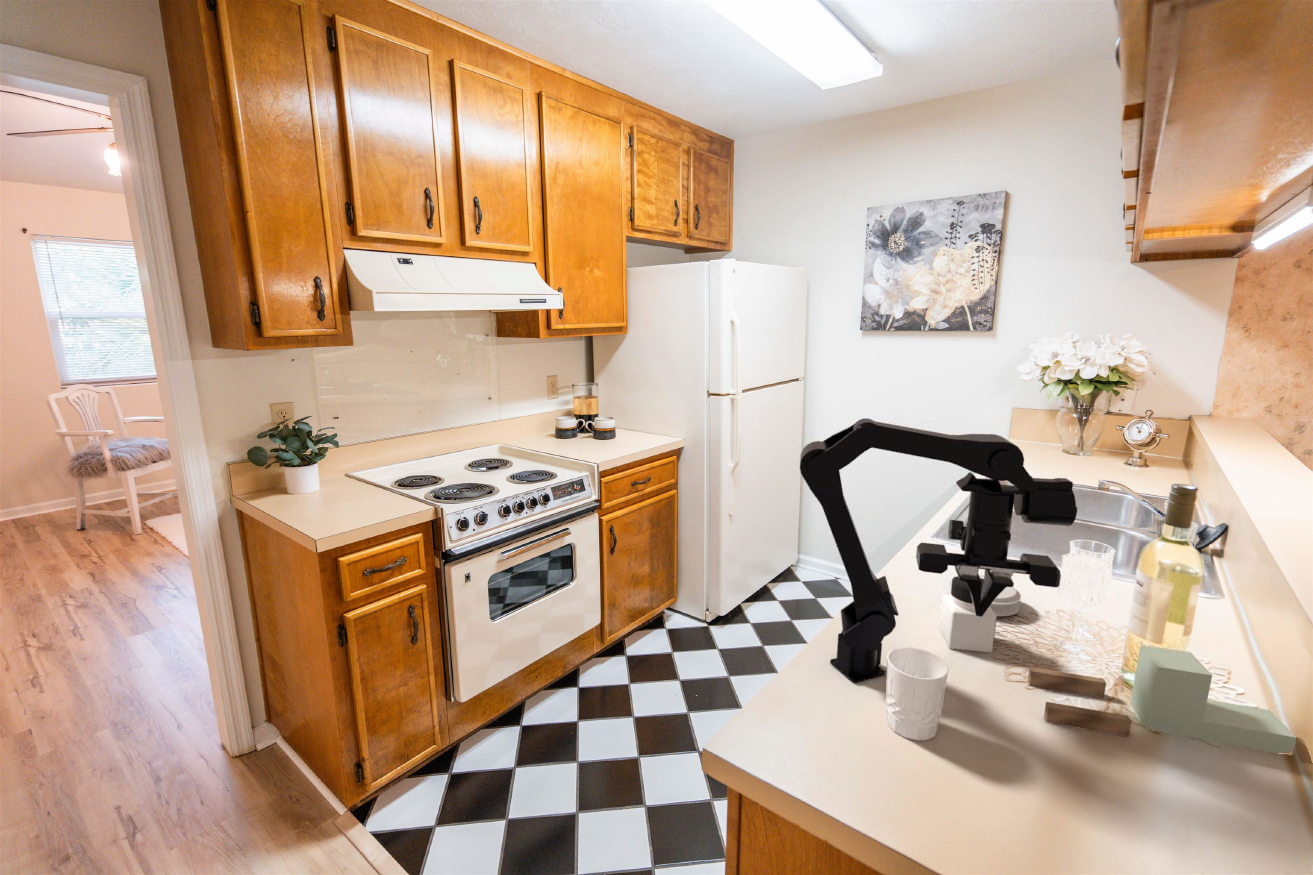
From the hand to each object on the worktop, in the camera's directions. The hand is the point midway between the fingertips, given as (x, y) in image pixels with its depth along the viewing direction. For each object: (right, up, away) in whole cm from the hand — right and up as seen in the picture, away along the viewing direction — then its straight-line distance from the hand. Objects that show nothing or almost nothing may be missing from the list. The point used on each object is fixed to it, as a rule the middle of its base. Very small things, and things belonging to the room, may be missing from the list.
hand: (978, 615), depth 93 cm
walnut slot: (+13, -13, -3) cm, 18 cm away
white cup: (-13, -14, -7) cm, 21 cm away
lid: (+16, -7, +29) cm, 34 cm away
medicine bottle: (+6, -9, +15) cm, 19 cm away
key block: (+28, -14, -8) cm, 32 cm away
